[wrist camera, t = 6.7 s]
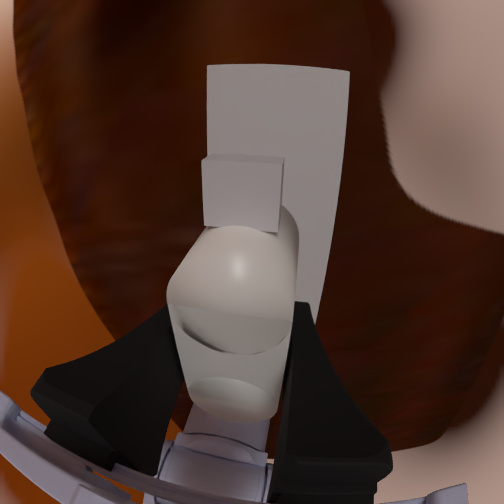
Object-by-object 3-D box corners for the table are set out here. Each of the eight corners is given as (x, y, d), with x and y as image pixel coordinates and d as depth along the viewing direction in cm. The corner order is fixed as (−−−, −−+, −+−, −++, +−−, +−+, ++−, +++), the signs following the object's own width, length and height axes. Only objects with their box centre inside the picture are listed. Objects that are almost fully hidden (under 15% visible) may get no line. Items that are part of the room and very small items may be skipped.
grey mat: (311, 336, 24) (311, 341, 23) (218, 324, 25) (216, 328, 24) (348, 72, 14) (349, 71, 13) (210, 66, 15) (207, 65, 14)
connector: (284, 354, 15) (273, 427, 11) (218, 345, 16) (194, 413, 12) (308, 149, 10) (309, 186, 6) (208, 143, 10) (149, 177, 6)
